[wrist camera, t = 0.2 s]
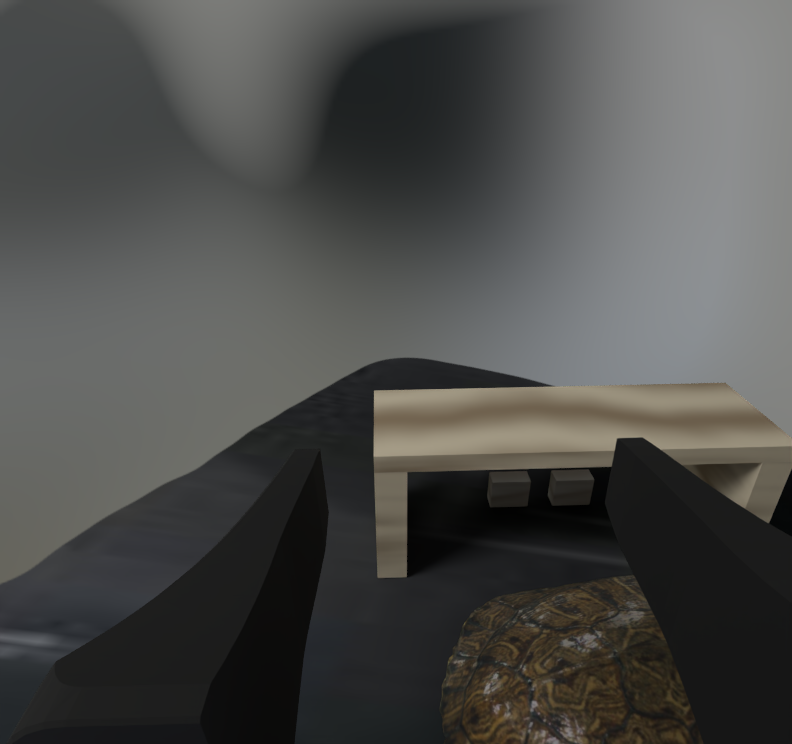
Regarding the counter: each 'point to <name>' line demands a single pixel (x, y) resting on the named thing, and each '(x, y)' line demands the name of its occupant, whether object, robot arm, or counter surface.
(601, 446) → the birch shelf
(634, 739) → the turtle shell
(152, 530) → the counter surface
